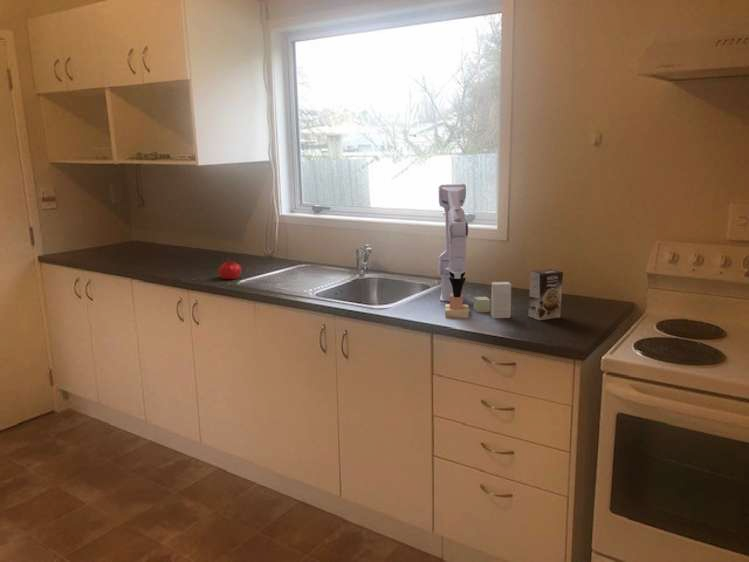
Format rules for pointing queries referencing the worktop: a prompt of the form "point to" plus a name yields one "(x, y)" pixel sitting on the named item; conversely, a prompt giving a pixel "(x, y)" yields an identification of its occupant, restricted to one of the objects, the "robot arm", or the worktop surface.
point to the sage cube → (481, 304)
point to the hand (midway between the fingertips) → (456, 294)
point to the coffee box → (545, 294)
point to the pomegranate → (230, 270)
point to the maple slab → (456, 312)
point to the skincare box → (501, 300)
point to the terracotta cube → (456, 301)
